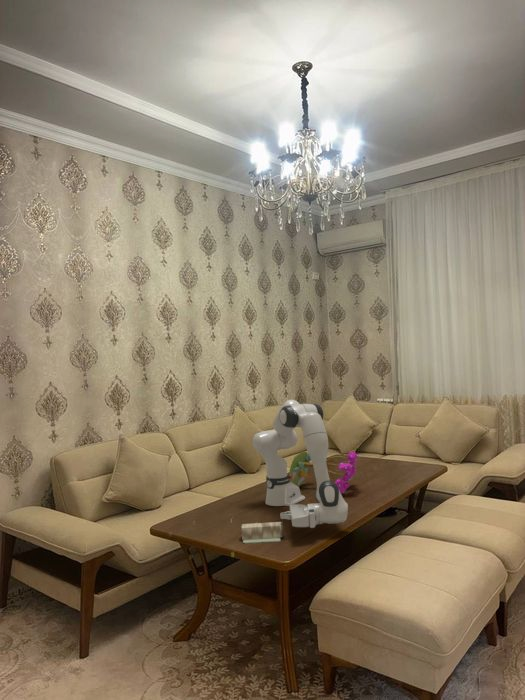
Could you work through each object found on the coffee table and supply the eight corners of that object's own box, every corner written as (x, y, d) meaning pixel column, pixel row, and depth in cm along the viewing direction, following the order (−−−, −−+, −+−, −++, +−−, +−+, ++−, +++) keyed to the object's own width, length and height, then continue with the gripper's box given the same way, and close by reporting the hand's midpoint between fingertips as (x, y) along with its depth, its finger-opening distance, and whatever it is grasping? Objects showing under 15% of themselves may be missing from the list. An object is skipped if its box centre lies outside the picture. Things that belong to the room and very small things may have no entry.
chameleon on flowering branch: (307, 433, 313) (363, 444, 297) (308, 475, 322) (363, 488, 305) (285, 456, 288) (345, 469, 272) (287, 501, 297) (345, 516, 280)
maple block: (282, 521, 232) (241, 524, 232) (282, 525, 227) (241, 528, 227) (283, 533, 232) (242, 535, 232) (283, 537, 227) (242, 539, 227)
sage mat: (279, 531, 236) (279, 530, 236) (280, 541, 224) (280, 540, 224) (244, 533, 236) (243, 532, 236) (243, 543, 224) (243, 542, 224)
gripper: (309, 499, 240) (279, 501, 240) (313, 514, 220) (280, 516, 220) (309, 513, 240) (279, 515, 240) (314, 529, 220) (281, 531, 220)
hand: (280, 515), depth 230 cm, fingers closed
